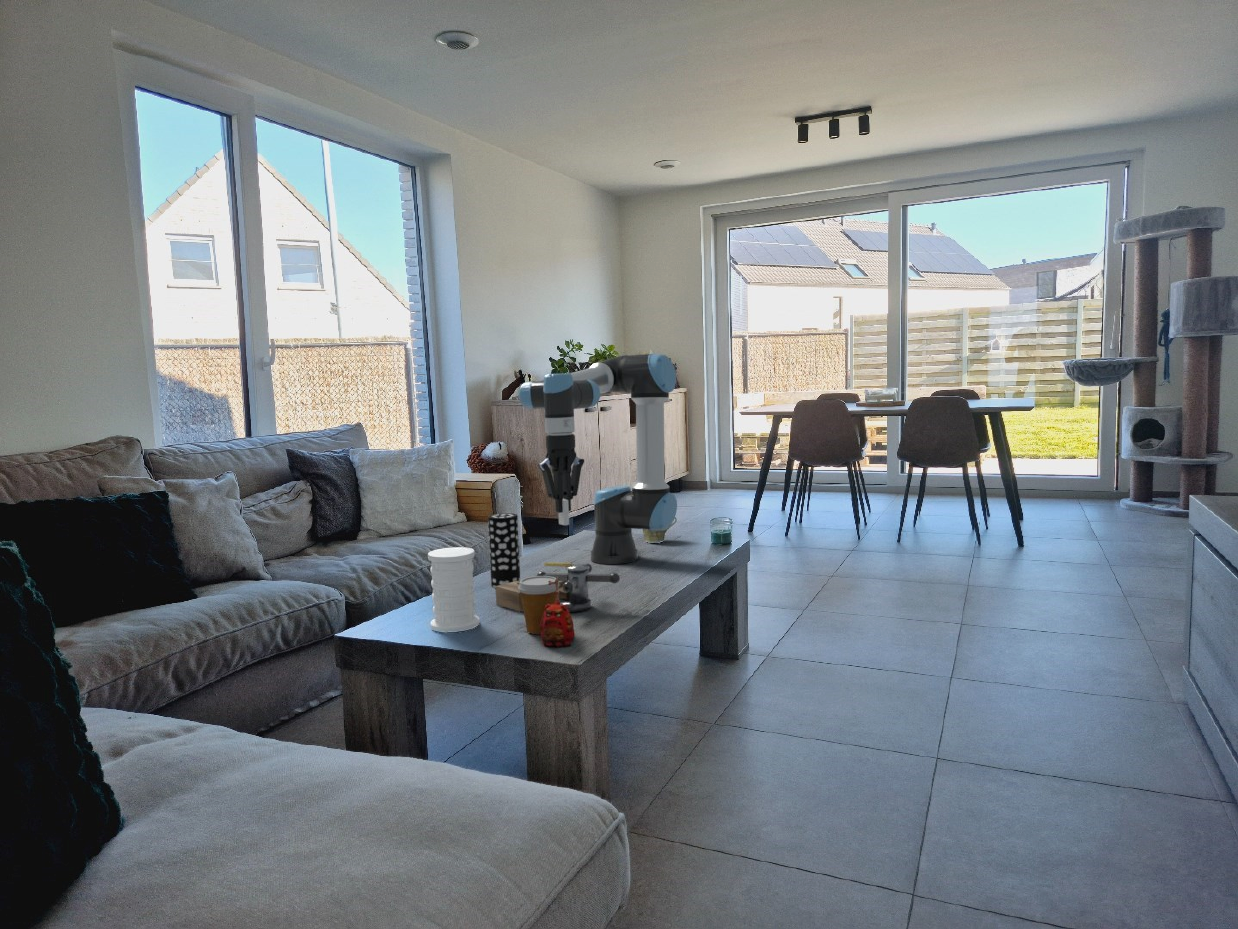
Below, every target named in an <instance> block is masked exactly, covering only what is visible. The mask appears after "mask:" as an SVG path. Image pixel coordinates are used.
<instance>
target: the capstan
mask: <svg viewBox="0 0 1238 929" xmlns="http://www.w3.org/2000/svg"><path fill="white" fill-rule="evenodd" d="M544 567H564V568H565V570H566V571H567V573H566V572H565V573H564V572H563V573H562V572H545V571H539V572H538V573H537V574H536V576H551V577H555V578H557V574H558V579H559V580H558V579H557V580H558V581H567V582H565V583H564V584H563V590H564V591H565V592H567V593H569V598H568V599H565V598H562V599H559V602H560V604H561V605H566V606H567V609H568V611H569V613H576V612H577V613H578V612H583V611H584V612H585V611H587V610H589V609H590V608H592V600H591V599H590V597H589V583H590V582H591V583H593V582H594V583H595V582H597V583H611V584H613V585H614V584H617V583H619V582H620V580H621V576H620V575H619V574H618V573H617V572H612V573H611V574H609V573H591V572H592V571H593V567H592V565H591V564H590V563H581V562H580V563H573V562H553V561H552V562H551V561H550V562H548V561H547V562H545V563H544Z"/></svg>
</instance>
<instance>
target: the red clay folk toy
mask: <svg viewBox="0 0 1238 929" xmlns="http://www.w3.org/2000/svg"><path fill="white" fill-rule="evenodd" d="M557 579H558V574H557V578H556V579H555V582H551V581H548V582H549V585H551V584H556V594H557V596H556V602H555V604H553V605H550V604H547V605H546V606H545V611H544V613H543V616H542V619H541V623H540V624H541V625H540V629H541V635H540V639H541V642H542V645H543V644H544V645H543V646H547V647H557V648H563V647H562V646H566V647H570V646H571V643H573V641H574V639H575V629H574V627H575V626H574V625H575V624H574V620H573V617H572V615H571V612H569V611H568V609H567V606H566V605H561V604H560V602H559V597H558V595H559V591H558V580H559V579H558V580H557Z"/></svg>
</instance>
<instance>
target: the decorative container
mask: <svg viewBox="0 0 1238 929" xmlns="http://www.w3.org/2000/svg"><path fill="white" fill-rule="evenodd" d="M475 554H476V553H475V549H473V548H470V547H466V546H465V547H464V546H463V547H461V546H459V547H458V546H457V547H456V546H455V547H445V548H437V549H434V550H431V551H429V552H428V553H427V560H428V561H429V562H430V563H431V566H430V574H431V582H430V585H431V588H432V593H431V594H432V595H431V599H432V601H433V606H432V613H433V615H434V618H433V619H432V620H431V621H430V629H431V628H432V629H434V630H438V631H445V632H448V631H452V632H453V631H460V630H466V629H469V628H472V627H474V626H478V624H479V623H480V617H479V616H478V615H476V614H475V611H476V608H477V605H476V603H475V598H476V597H475V596H476V591H475V589H474V585H475V578H474V573H473V572H474V568H475V567H474V563H473V559H474V557H475ZM479 625H480V624H479ZM478 627H479V626H478Z"/></svg>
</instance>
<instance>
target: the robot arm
mask: <svg viewBox="0 0 1238 929" xmlns="http://www.w3.org/2000/svg"><path fill="white" fill-rule="evenodd" d="M676 373H677V372H676V368H675V366H674V362H672V360H671V358H669V356H668V355H666V354H662V353H649V354H648V353H647V354H646V353H644V354H633V355H632V354H630V355H629V354H628V355H627V354H624V355H618V356H613V357H611V358H608V359H604V360H601V361H599V362H596V363H592V365H590V367H588V368H585V369H582V370H579V371H574V372H569V373H567V372H566V373H547V374H545V375H544V376H543V380H537V381H534V380H532V381H526V382H523V383H522V384H521V385H520V387H519V390H518V400H519V403H520V404H521V406H522V407H523V408H525V409H531V410H540V409H541V410H542V409H543V410H544V425H545V426H544V428H545V429H544V432H545V433H546V434H547V435H546V436H545V447H546V452H547V453H546V454H545V459H544V460H543V461H542V462H541V461H540V462H538V463H537V466H538V468H539V470H540V471H541V473H542V478H543V482H544V484H545V489H546V492H547V497H548V498H549V499H552V500H554V501H555V512H556V513H558V514H557V515H558V525H562V526H569V525H570V512H571V510H572V502H571V501H572V500H573V499H574V497H577V495H578V492H579V486H580V479H581V472H582V468H583V465H584V463H585V459H584V458H580V457H578V455H577V453H576V450H575V448H576V435H575V434H573V433H574V432H575V431H576V430H575V410H579V409H589V408H592V407H595V406H596V405H597V404H598V403H599V402H600V399H601V394H602V395H603V394H607V393H620V394H621V393H623V394H629V393H630V400H632V401H633V403H635V419H636V420H635V426H636V427H635V429H636V430H635V431H636V432H635V434H636V437H635V438H636V439H635V440H636V482H635V483H634V484H633V485H632V487H631V486H628V485H623V486H622V485H621V486H614V487H607V488H602V489H599V490H597V491H595V493H594V496H593V497H594V498H593V501H594V502H593V507H594V530H595V533H594V534H595V535H594V536H595V538H594V541H593V545H592V550H591V551H590V561H591V562H594V563H597V564H603V565H618V564H619V565H621V564H628V563H633V562H636V560H637V561H638V559H639V556H638V554H639V552H638V549H637V548H636V544H635V541H634V538H633V532H632V529H634V530H635V529H636V530H643V529H646V530H652V531H655V530H666V529H668V528H669V527H670V526H671V525H672V524H673V523H674V522H675V517H677V510H678V501H677V497H676V495H675V494H673V493H671V492H670V485H669V484H668V483H666V480H665V404H666V402H667V401H668V400H669V399H670V397H669V396H670V394H669V393H672V392H673V391H674V390H675V389H676V384H677V374H676ZM550 468H551V469H550ZM671 527H672V526H671ZM671 527H670V528H671ZM670 528H669V529H670ZM669 529H668V530H669Z"/></svg>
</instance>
